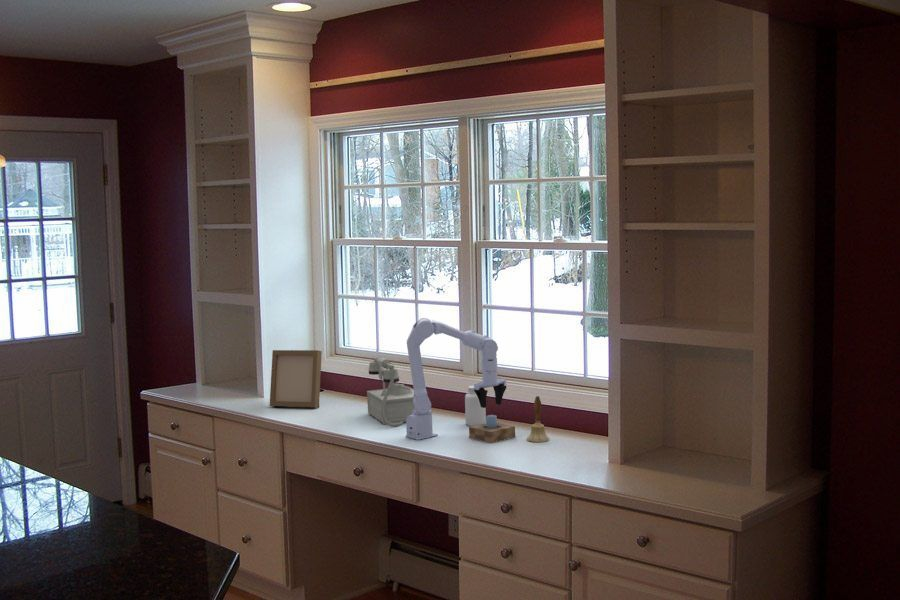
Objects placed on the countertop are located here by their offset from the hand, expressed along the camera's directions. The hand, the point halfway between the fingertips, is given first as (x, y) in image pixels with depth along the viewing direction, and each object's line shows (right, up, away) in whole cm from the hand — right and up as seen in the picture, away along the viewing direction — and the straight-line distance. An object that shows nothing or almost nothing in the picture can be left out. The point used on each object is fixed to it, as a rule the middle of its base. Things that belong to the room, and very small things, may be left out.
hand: (490, 405), depth 369 cm
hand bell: (+17, -11, -14) cm, 24 cm away
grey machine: (-38, -9, +31) cm, 50 cm away
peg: (0, -11, -8) cm, 14 cm away
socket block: (0, -11, -8) cm, 14 cm away
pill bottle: (-5, -9, +14) cm, 18 cm away
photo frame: (-82, -7, +65) cm, 105 cm away
